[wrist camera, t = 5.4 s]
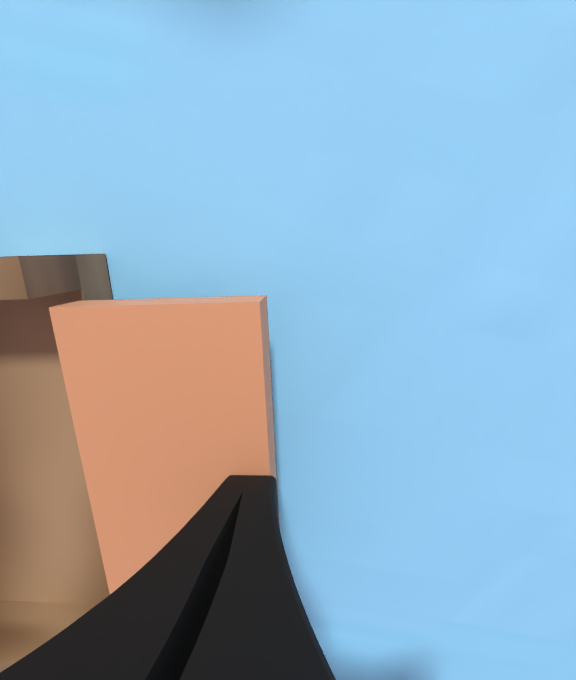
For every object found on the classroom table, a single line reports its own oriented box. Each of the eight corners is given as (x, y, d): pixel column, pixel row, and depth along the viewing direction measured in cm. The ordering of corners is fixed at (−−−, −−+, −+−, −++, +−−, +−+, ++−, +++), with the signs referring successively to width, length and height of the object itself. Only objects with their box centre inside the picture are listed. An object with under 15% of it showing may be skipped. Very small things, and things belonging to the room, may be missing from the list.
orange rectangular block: (119, 640, 12) (280, 650, 11) (48, 307, 9) (259, 301, 8) (136, 605, 13) (283, 612, 13) (79, 300, 10) (266, 295, 10)
